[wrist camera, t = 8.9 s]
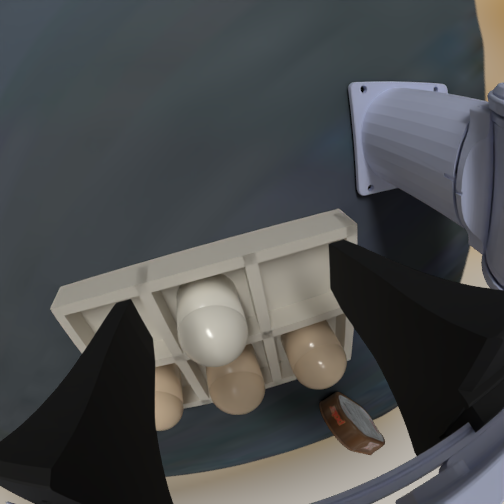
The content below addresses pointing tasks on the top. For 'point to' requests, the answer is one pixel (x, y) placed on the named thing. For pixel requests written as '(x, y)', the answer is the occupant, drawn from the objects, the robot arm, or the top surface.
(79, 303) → the egg carton
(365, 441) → the tin
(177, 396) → the brown egg
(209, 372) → the brown egg middle
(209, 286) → the cream egg
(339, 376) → the brown egg
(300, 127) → the top surface
